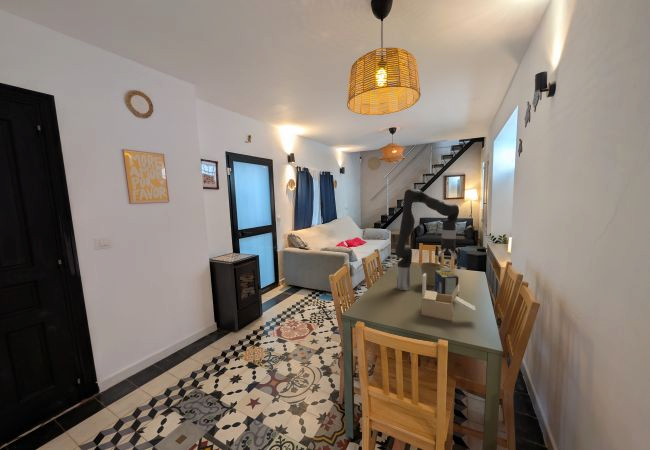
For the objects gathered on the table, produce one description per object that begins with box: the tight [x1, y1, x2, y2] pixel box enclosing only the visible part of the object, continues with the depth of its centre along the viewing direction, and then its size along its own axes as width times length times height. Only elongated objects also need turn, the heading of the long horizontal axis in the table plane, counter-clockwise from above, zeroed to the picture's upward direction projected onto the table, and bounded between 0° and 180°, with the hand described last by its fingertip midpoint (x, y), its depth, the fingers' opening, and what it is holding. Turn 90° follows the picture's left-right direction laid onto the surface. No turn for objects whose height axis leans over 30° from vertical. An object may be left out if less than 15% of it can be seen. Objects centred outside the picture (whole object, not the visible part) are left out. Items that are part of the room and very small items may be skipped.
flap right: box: [452, 283, 476, 313], centre depth 142 cm, size 8×14×13 cm
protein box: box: [434, 270, 460, 297], centre depth 177 cm, size 10×15×16 cm
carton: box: [421, 293, 454, 322], centre depth 150 cm, size 16×14×10 cm
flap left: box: [421, 273, 437, 301], centre depth 150 cm, size 8×14×13 cm, turn 152°
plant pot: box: [420, 262, 442, 287], centre depth 198 cm, size 15×15×16 cm
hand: (447, 263), depth 152 cm, fingers open, 8 cm apart
